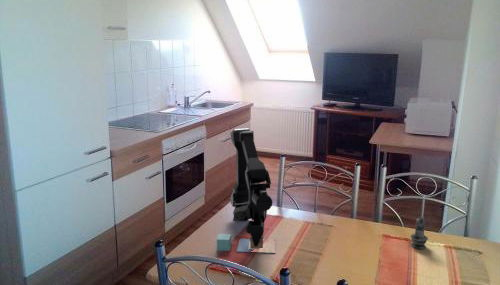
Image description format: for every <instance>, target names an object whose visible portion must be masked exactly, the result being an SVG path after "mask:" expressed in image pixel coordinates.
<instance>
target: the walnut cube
mask: <svg viewBox="0 0 500 285" xmlns="http://www.w3.org/2000/svg"><path fill="white" fill-rule="evenodd" d="M249 235H250V236H249V239H250V248H263V239H264V234H263V235H262V237H261V239H260V241H259V244H258V246H254V243H253V239H252V236H251V234H249Z"/></svg>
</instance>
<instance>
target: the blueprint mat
mask: <svg viewBox="0 0 500 285" xmlns="http://www.w3.org/2000/svg"><path fill="white" fill-rule="evenodd" d="M252 249H253V250H254V249H259V248H250V238H239V242H238V245H237V247H236V253H244V252H251V251H253V250H252Z"/></svg>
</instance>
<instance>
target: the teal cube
mask: <svg viewBox="0 0 500 285" xmlns="http://www.w3.org/2000/svg"><path fill="white" fill-rule="evenodd" d="M231 246H232V234H231V233H219V234H218V235H217V238H216V251H217V252H218V251H220V252H221V251H222V252H224V251H225V252H229V251H231Z"/></svg>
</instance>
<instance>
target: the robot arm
mask: <svg viewBox="0 0 500 285" xmlns="http://www.w3.org/2000/svg"><path fill="white" fill-rule="evenodd" d="M254 133H255V132H254V130H250V128H248V127H245V128H233V130H232V131H231V132H230V140H231V143H232V145H233V146H234V148H235V149H236V150H235V151H236V156H235V157H236V158H235V159H236V166H235V167H236V182H235V184H234V185H233V187H232V193H231V196H230V200H229V201H230V204H231V206H232V207H233V208H234V209H233V212H232V215H233V218H232V220H233V221H236V222H239V221H247V222H246V224H245V233H247V234H249V235H251V236H252V239H253V243H254V246H258V244H259V241H260V239H261V237H262V235H263V236H264V232H265V221H266V219H267V214H268V211H269V210H270V209H271V208H272V206H273V200H272V197H271V196H270V194H268V192H267V190H268V189H271V184H272V182H271V177H270V173H269V171H268V169H267V168H266V165H265V163H264V162H263V161H261V160H260V158H259V155H258V151H257V147H256V145H255V135H254Z"/></svg>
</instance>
